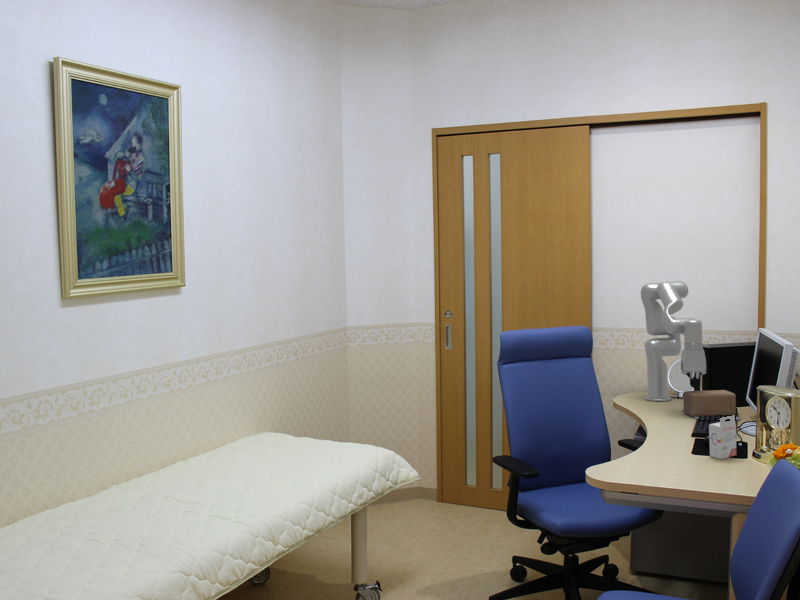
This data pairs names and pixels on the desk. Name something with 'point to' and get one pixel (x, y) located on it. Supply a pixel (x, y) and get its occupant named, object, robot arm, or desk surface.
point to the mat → (698, 416)
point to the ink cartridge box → (723, 438)
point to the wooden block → (709, 403)
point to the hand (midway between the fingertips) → (693, 386)
